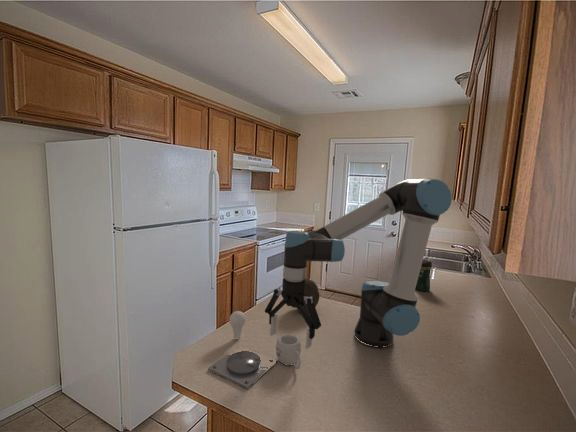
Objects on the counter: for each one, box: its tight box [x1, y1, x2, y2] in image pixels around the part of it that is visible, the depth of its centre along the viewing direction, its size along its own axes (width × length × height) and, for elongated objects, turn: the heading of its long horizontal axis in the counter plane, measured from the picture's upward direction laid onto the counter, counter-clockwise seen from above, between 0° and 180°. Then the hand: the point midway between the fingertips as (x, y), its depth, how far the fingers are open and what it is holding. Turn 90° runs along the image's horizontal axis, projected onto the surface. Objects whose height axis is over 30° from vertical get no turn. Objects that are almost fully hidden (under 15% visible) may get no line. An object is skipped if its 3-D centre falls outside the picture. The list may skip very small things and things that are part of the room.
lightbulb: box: [229, 310, 246, 339], centre depth 113 cm, size 6×6×11 cm
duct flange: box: [207, 351, 273, 390], centre depth 96 cm, size 16×16×2 cm
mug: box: [275, 333, 302, 370], centre depth 99 cm, size 12×8×8 cm
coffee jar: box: [415, 259, 433, 292], centre depth 179 cm, size 10×8×19 cm
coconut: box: [300, 278, 320, 311], centre depth 141 cm, size 14×14×15 cm
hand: (290, 340), depth 98 cm, fingers open, 13 cm apart
